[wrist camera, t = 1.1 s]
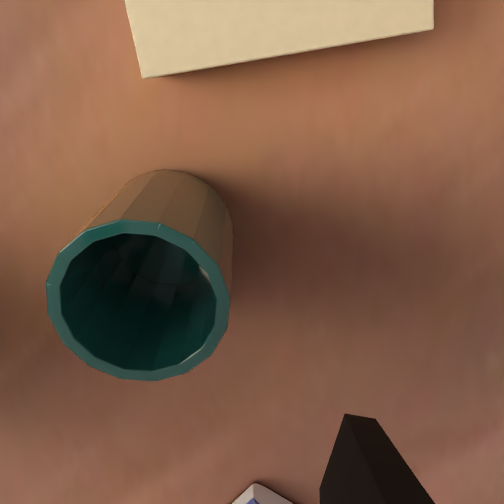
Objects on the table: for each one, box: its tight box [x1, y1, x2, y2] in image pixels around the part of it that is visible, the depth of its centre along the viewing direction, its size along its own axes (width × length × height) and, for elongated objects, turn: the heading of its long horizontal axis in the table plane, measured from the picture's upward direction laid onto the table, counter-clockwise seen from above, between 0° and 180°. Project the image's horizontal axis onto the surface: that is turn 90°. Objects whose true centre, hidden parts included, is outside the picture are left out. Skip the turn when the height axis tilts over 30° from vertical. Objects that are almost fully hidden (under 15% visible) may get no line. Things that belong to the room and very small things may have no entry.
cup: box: [46, 170, 233, 381], centre depth 16 cm, size 5×5×6 cm
